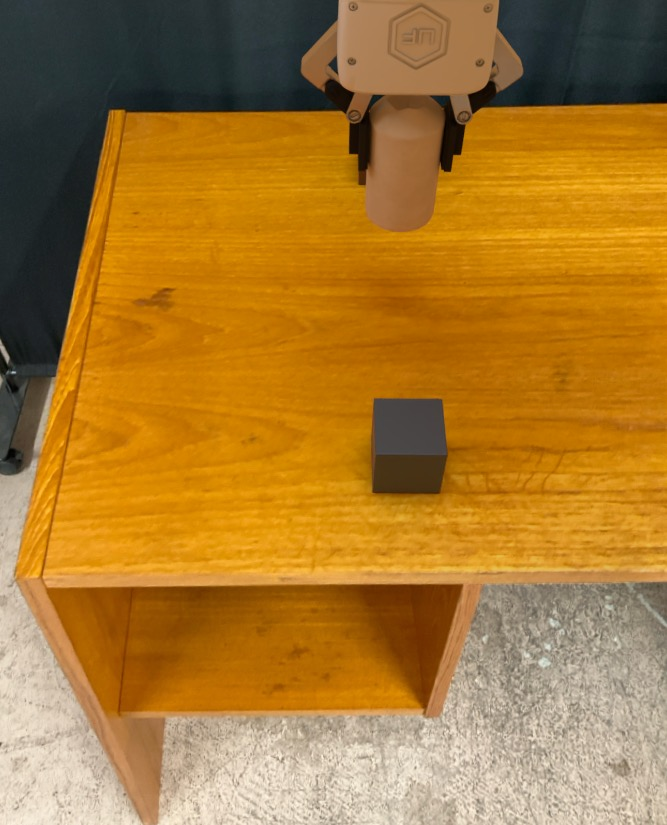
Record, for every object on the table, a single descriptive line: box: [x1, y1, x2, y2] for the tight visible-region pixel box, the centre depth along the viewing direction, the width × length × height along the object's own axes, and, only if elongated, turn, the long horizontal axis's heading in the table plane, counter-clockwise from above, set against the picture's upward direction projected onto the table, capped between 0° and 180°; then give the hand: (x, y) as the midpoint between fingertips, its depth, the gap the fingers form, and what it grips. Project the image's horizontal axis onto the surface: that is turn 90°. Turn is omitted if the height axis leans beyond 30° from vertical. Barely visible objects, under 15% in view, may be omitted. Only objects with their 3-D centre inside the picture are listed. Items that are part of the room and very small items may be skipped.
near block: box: [370, 397, 449, 494], centre depth 60 cm, size 5×5×5 cm
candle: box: [364, 95, 446, 233], centre depth 62 cm, size 6×6×10 cm
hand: (403, 158), depth 62 cm, fingers closed on candle, 5 cm apart
